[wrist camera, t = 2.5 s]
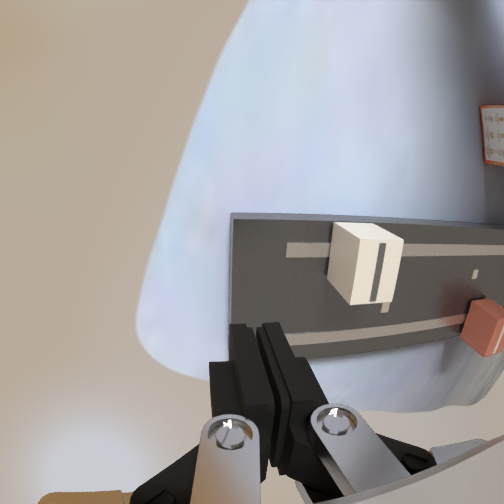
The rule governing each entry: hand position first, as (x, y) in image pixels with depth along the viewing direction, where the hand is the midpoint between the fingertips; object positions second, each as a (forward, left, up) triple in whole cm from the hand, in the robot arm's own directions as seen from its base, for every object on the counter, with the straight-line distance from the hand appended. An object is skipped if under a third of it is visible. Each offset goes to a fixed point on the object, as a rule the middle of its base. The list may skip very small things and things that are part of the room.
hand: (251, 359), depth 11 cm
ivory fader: (0, +8, -10) cm, 13 cm away
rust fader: (+7, +24, -10) cm, 27 cm away
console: (+3, +16, -13) cm, 21 cm away
